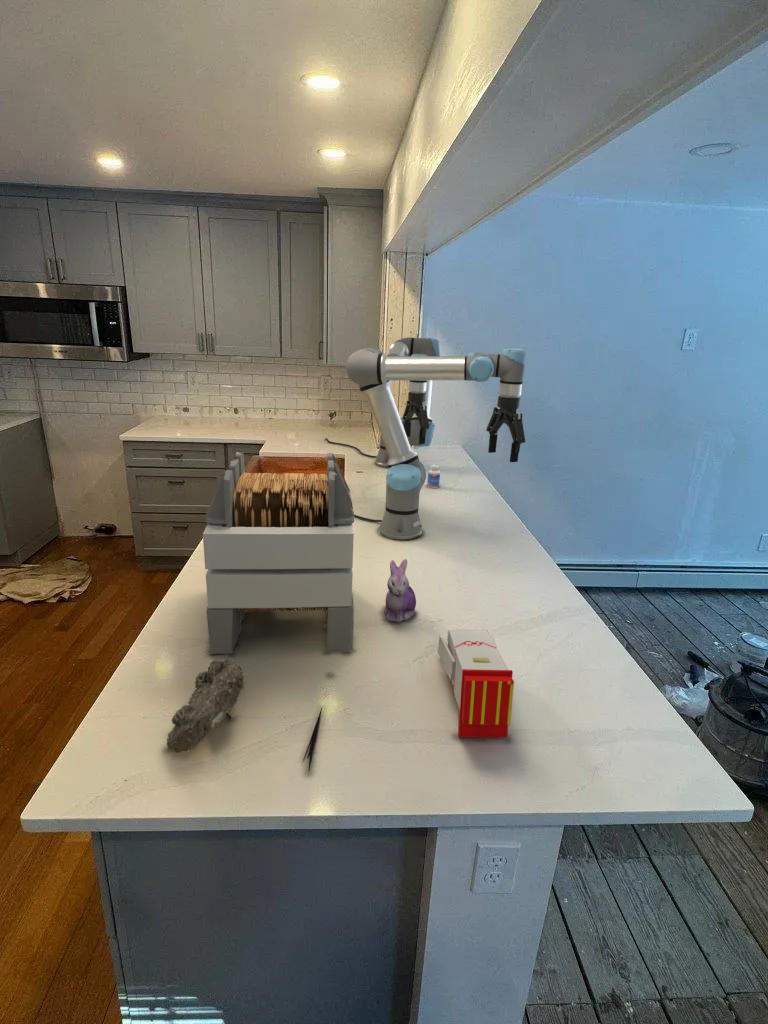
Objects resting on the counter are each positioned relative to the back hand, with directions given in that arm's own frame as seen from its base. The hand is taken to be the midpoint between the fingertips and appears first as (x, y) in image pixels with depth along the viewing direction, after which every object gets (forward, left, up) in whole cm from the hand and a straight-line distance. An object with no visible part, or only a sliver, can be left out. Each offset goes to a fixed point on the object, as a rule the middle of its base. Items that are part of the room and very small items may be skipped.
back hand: (414, 440), depth 250 cm
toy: (+133, -65, -20) cm, 149 cm away
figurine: (+99, -62, -20) cm, 119 cm away
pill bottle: (+6, +7, -20) cm, 23 cm away
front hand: (+59, 0, +7) cm, 60 cm away
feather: (+127, -96, -20) cm, 161 cm away
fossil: (+118, -114, -20) cm, 165 cm away
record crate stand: (+88, -90, -20) cm, 127 cm away
